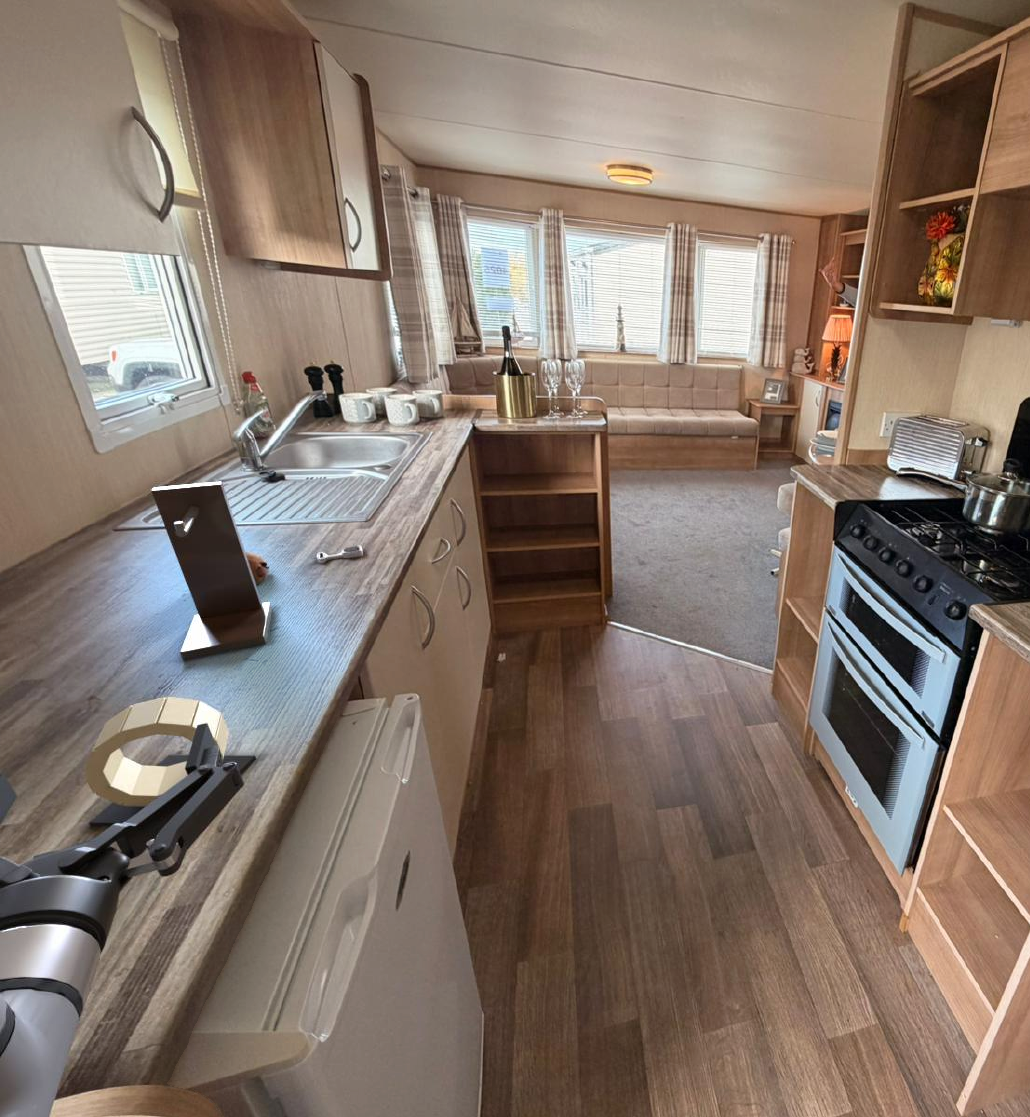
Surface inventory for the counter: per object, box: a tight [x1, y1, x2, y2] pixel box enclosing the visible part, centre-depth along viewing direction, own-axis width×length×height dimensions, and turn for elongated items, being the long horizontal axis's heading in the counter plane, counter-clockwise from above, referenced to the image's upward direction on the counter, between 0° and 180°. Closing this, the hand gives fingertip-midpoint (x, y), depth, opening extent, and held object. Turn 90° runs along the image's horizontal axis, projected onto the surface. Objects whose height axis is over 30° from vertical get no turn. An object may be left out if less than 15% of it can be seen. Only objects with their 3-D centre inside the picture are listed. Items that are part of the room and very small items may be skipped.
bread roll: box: [245, 551, 270, 586], centre depth 111 cm, size 10×10×8 cm
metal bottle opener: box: [316, 544, 364, 564], centre depth 123 cm, size 4×8×1 cm, turn 124°
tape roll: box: [82, 696, 230, 806], centre depth 65 cm, size 5×10×10 cm, turn 122°
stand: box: [150, 481, 273, 662], centre depth 91 cm, size 13×10×24 cm
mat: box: [88, 754, 257, 827], centre depth 67 cm, size 10×10×1 cm
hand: (111, 758), depth 55 cm, fingers open, 13 cm apart
